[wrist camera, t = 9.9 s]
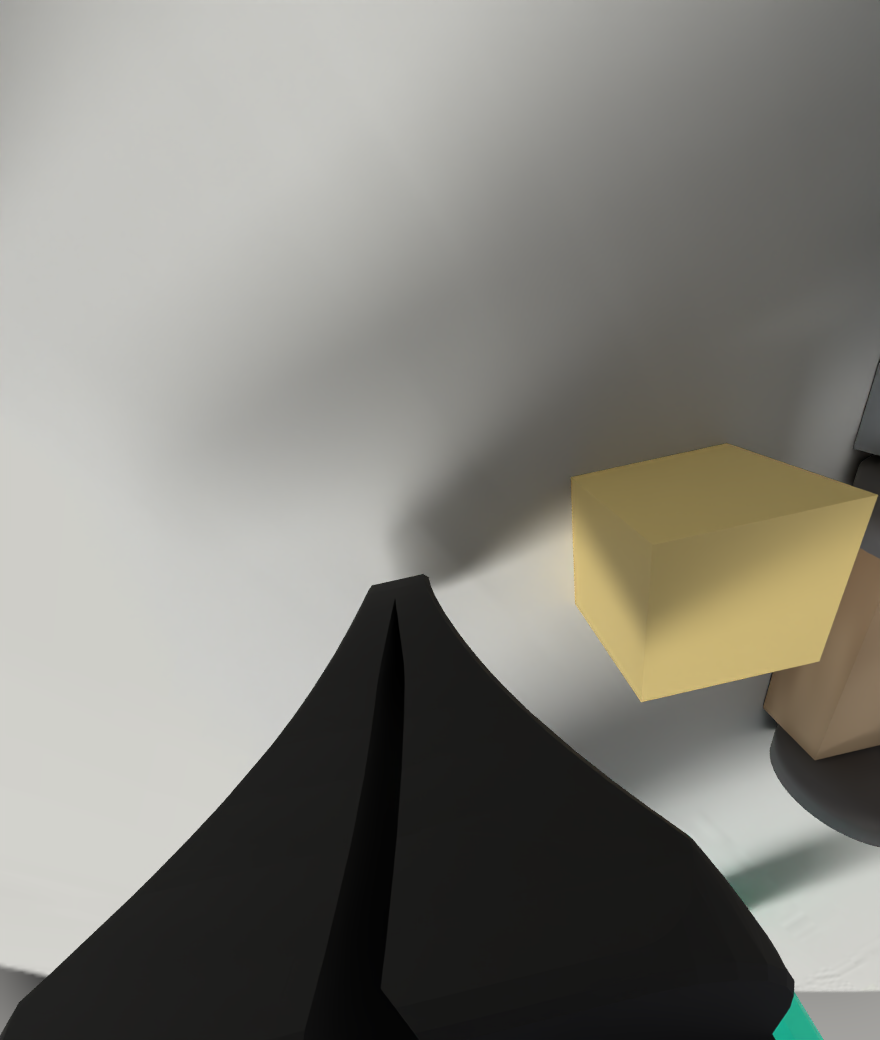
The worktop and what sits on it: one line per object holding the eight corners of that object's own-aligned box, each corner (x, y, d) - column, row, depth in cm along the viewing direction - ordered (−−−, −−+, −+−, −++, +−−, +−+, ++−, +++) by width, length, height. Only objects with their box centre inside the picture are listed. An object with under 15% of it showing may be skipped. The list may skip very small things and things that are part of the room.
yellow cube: (704, 572, 12) (819, 661, 9) (573, 601, 12) (640, 702, 8) (723, 442, 10) (878, 494, 7) (569, 475, 10) (652, 544, 7)
